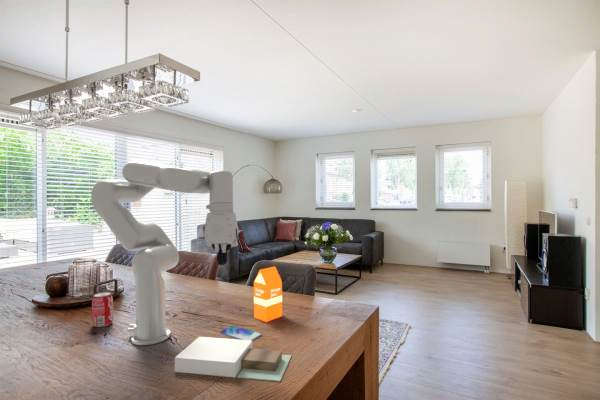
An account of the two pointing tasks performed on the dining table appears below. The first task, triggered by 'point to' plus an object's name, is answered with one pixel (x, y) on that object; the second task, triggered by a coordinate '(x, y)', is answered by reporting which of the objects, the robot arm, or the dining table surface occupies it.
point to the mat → (266, 372)
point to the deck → (213, 356)
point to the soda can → (102, 309)
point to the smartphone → (240, 333)
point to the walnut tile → (261, 359)
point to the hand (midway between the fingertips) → (222, 264)
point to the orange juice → (268, 295)
